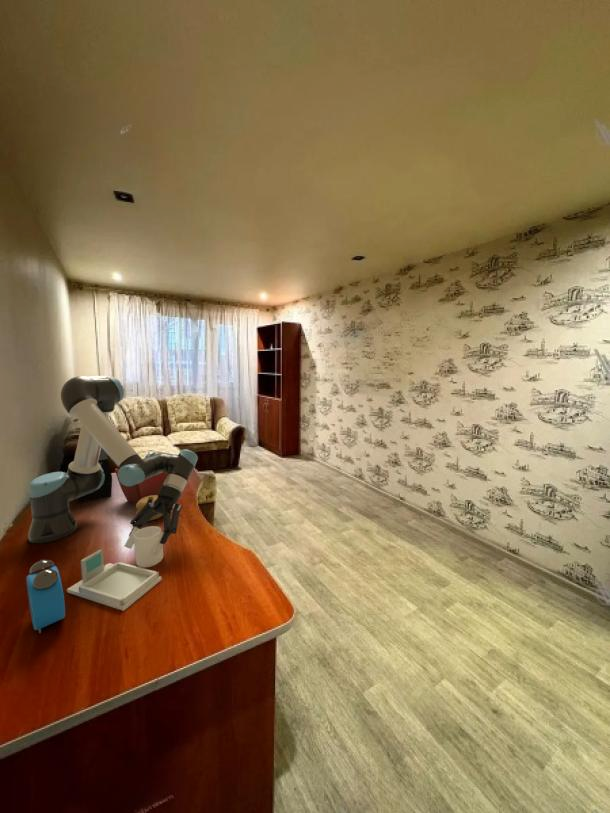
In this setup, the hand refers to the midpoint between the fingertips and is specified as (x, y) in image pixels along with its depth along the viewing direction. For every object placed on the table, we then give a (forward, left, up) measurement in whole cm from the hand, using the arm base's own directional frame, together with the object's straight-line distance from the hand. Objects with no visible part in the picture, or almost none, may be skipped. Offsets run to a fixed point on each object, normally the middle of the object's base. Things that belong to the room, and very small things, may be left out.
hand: (140, 550), depth 105 cm
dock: (+2, -11, -4) cm, 12 cm away
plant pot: (-42, +42, -5) cm, 60 cm away
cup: (0, +3, -5) cm, 5 cm away
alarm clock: (-3, -27, -5) cm, 27 cm away
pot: (-23, +27, -5) cm, 36 cm away
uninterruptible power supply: (-79, +42, -5) cm, 90 cm away
